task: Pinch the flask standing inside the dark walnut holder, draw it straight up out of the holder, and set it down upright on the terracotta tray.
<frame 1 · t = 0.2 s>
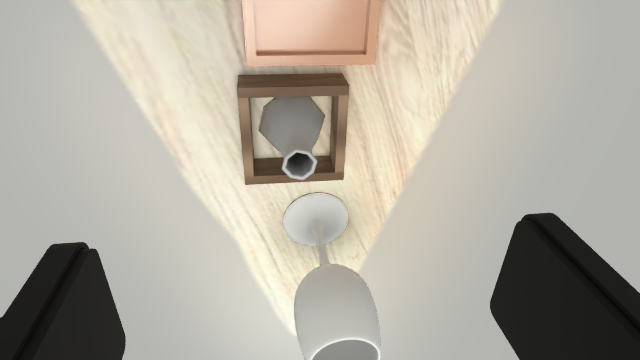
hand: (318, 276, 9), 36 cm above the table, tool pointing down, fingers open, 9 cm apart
walnut holder: (291, 122, 46), on the table
flask: (291, 121, 47), on the table
wineglass: (315, 218, 54), on the table
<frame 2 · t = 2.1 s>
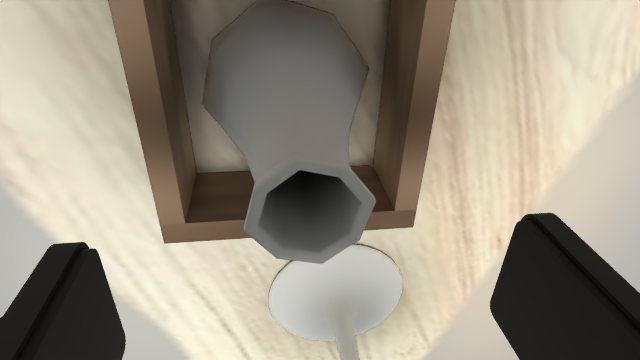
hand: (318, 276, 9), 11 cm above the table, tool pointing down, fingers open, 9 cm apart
walnut holder: (285, 84, 19), on the table
flask: (285, 82, 19), on the table
wineglass: (335, 291, 27), on the table
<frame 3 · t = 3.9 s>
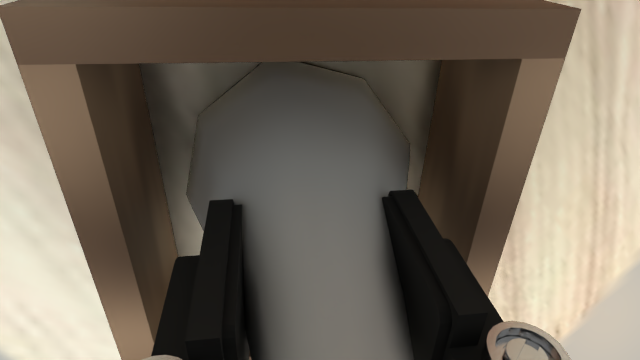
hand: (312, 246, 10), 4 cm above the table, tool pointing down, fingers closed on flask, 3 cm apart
walnut holder: (297, 163, 14), on the table
flask: (297, 162, 14), on the table, touching gripper
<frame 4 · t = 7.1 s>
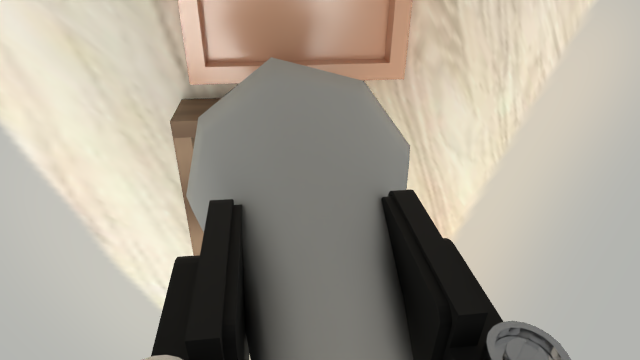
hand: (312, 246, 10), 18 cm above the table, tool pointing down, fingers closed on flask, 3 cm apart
walnut holder: (271, 170, 30), on the table
flask: (297, 163, 14), point 14 cm above the table, touching gripper
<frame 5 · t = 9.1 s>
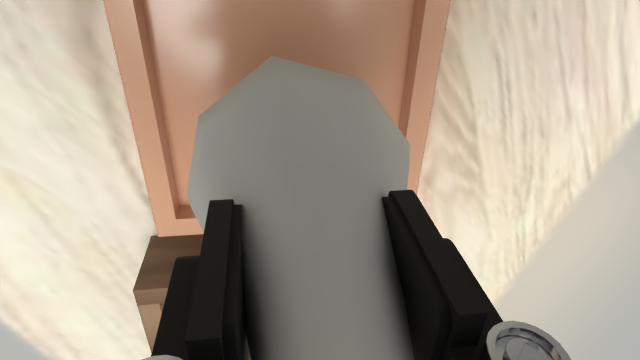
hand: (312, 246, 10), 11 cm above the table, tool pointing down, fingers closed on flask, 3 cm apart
walnut holder: (257, 298, 26), on the table
flask: (297, 163, 14), point 6 cm above the table, touching gripper
terracotta tray: (285, 93, 19), on the table
when the fingers open (7 cm above the table, at t = 10.6 s): flask drops 2 cm, resting on terracotta tray.
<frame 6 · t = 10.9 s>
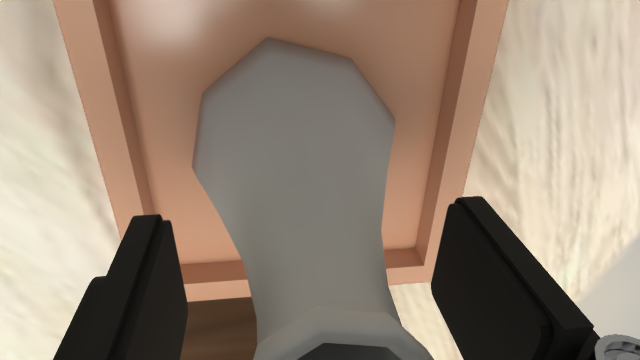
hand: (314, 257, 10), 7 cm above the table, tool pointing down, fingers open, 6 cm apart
walnut holder: (259, 359, 23), on the table
flask: (292, 137, 15), point 1 cm above the table, touching terracotta tray
terracotta tray: (292, 135, 16), on the table
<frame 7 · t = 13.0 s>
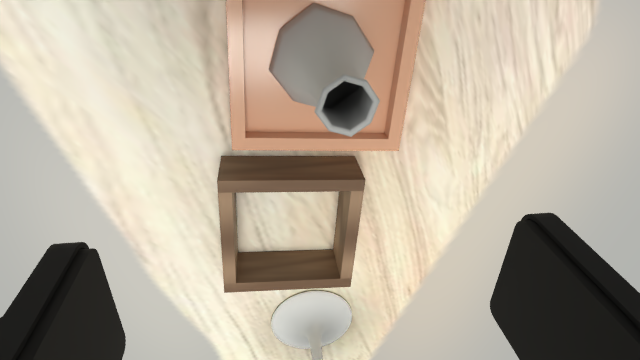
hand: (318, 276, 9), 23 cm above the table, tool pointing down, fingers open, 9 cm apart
walnut holder: (287, 211, 37), on the table
flask: (320, 58, 30), point 1 cm above the table, touching terracotta tray
terracotta tray: (320, 59, 30), on the table
wineglass: (311, 318, 44), on the table
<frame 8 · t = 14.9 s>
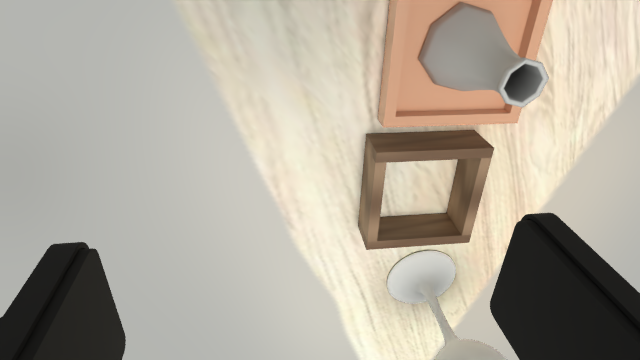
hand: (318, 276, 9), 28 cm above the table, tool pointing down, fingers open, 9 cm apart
walnut holder: (413, 180, 43), on the table
flask: (459, 47, 36), point 1 cm above the table, touching terracotta tray
terracotta tray: (456, 48, 36), on the table
wineglass: (420, 275, 51), on the table
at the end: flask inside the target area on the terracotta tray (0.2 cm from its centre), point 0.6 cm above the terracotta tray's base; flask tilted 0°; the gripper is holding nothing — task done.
